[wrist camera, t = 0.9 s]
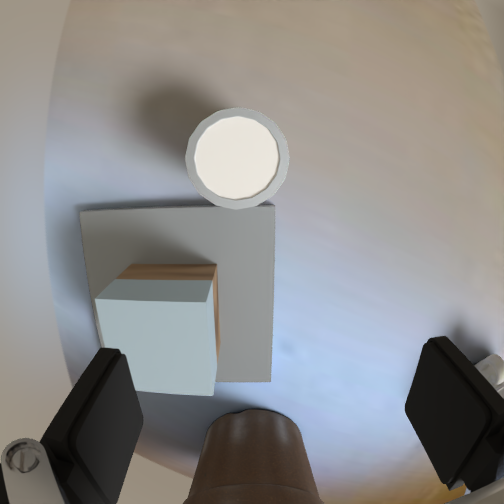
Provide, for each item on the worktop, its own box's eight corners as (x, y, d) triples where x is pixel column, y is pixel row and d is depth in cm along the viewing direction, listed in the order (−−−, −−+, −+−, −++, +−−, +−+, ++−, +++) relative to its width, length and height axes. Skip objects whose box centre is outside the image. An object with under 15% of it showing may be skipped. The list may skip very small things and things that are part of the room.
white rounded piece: (295, 161, 27) (311, 160, 20) (238, 214, 28) (235, 231, 21) (241, 104, 26) (239, 86, 19) (183, 159, 27) (163, 158, 20)
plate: (85, 210, 28) (79, 212, 27) (274, 205, 28) (275, 206, 27) (112, 367, 33) (108, 373, 31) (270, 375, 33) (270, 381, 32)
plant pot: (178, 458, 37) (161, 553, 22) (202, 380, 33) (181, 503, 18) (287, 477, 39) (297, 567, 23) (336, 407, 35) (370, 516, 19)
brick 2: (115, 279, 24) (94, 298, 20) (212, 280, 24) (206, 302, 20) (130, 361, 26) (115, 388, 22) (217, 366, 26) (213, 395, 23)
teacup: (489, 394, 36) (514, 423, 28) (435, 419, 36) (457, 455, 29) (507, 320, 32) (542, 347, 25) (449, 345, 33) (482, 380, 25)
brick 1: (131, 263, 28) (115, 279, 24) (217, 264, 28) (212, 280, 24) (142, 339, 30) (130, 361, 26) (220, 342, 30) (217, 366, 26)
